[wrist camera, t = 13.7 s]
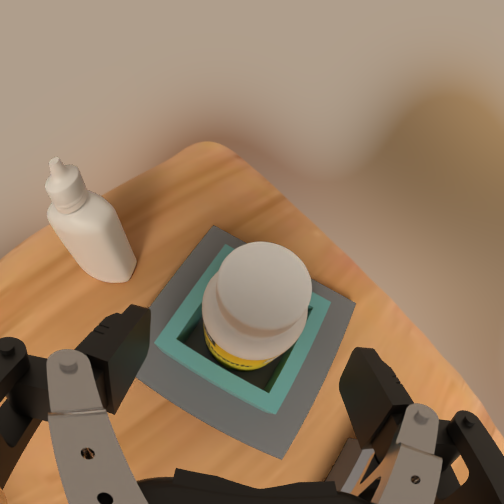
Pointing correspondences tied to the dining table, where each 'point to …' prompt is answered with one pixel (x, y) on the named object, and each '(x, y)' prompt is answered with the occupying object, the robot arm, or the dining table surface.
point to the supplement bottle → (255, 306)
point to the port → (232, 382)
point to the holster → (349, 466)
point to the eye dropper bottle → (88, 226)
